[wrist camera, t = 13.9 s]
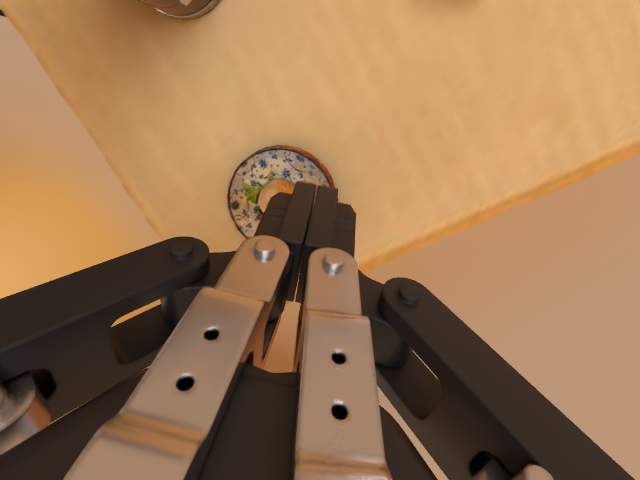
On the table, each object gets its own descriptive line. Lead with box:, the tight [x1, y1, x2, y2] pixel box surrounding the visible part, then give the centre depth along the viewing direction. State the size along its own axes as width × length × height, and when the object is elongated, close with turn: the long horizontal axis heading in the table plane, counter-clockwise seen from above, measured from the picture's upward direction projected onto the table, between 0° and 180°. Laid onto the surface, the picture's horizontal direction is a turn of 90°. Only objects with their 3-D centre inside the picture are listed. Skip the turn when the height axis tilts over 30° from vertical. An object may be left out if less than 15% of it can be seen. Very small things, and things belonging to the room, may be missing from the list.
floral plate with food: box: [228, 145, 338, 239], centre depth 36 cm, size 12×12×8 cm
